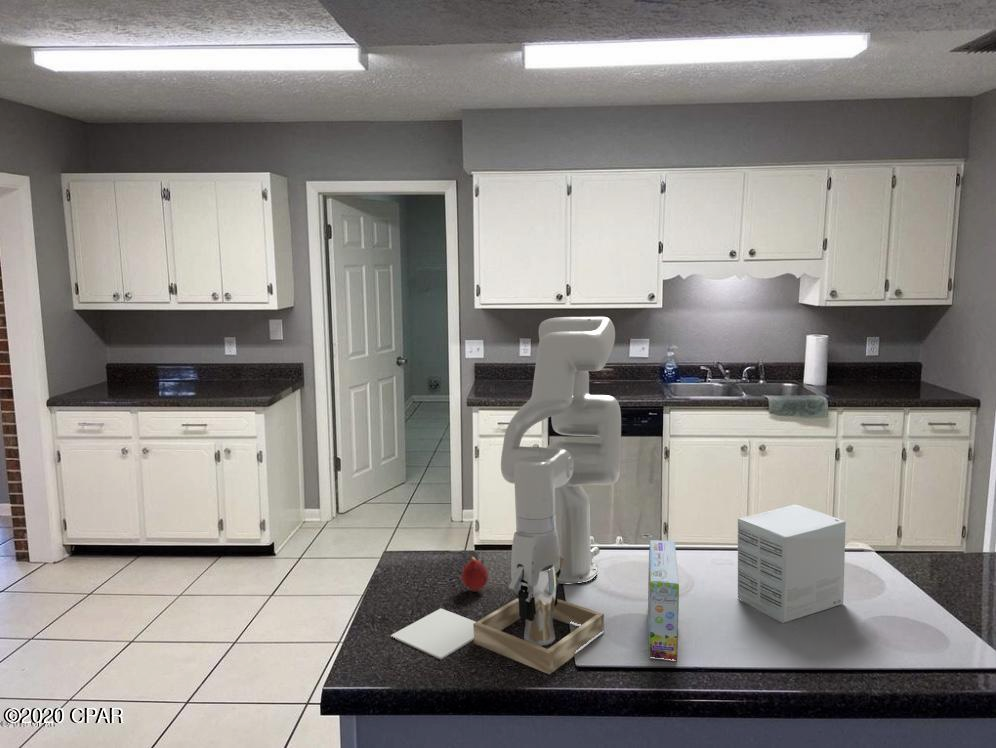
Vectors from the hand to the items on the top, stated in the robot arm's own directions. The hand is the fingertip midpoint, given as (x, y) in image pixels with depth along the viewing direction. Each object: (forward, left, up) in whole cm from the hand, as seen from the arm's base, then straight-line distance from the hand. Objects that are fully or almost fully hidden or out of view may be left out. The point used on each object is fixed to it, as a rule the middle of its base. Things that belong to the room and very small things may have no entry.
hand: (538, 610), depth 138 cm
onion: (-8, -24, -6) cm, 26 cm away
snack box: (-16, +18, -6) cm, 25 cm away
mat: (+10, -17, -6) cm, 21 cm away
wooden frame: (0, 0, -6) cm, 6 cm away
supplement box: (-43, +33, -6) cm, 55 cm away
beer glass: (0, 0, -6) cm, 6 cm away
